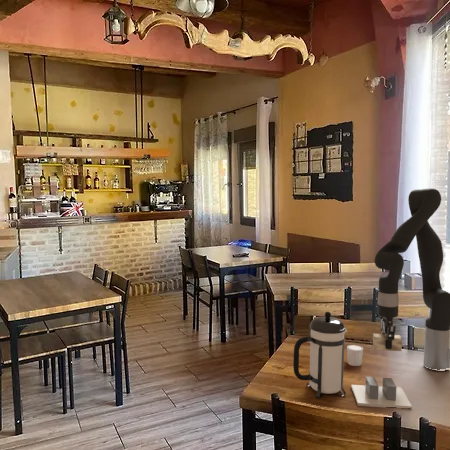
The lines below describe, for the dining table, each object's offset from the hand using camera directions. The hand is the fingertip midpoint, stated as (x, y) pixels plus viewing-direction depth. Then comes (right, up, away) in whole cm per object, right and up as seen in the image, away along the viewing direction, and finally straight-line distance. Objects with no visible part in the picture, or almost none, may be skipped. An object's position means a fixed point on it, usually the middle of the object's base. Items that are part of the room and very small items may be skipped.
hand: (386, 346), depth 171 cm
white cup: (-8, -12, +17) cm, 23 cm away
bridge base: (-7, -15, -13) cm, 21 cm away
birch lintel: (0, -1, 0) cm, 1 cm away
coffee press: (-27, -15, -8) cm, 32 cm away
